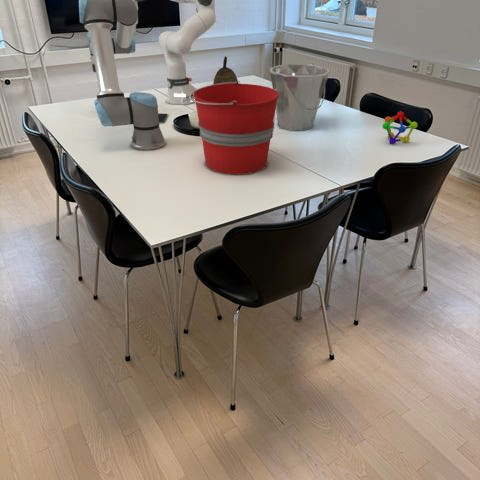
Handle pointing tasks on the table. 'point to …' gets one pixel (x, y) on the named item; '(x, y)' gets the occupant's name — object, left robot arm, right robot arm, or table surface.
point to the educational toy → (398, 128)
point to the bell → (225, 74)
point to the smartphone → (162, 117)
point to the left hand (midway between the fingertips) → (105, 103)
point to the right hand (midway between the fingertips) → (132, 30)
